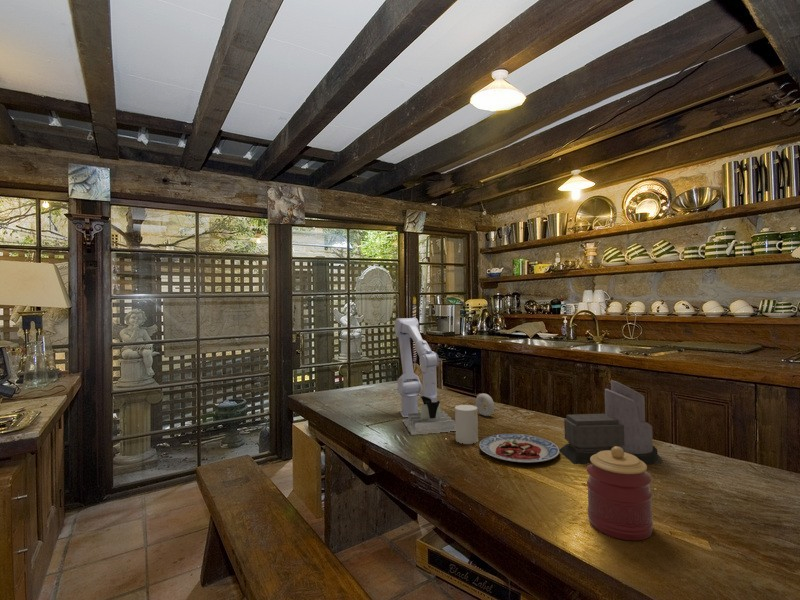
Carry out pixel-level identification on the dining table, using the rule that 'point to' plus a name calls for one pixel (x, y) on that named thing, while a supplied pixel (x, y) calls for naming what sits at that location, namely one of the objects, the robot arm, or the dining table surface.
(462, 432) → the white cylinder
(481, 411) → the donut
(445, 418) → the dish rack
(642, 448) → the grey napkin holder
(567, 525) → the dining table surface
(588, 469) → the canister
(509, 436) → the ceramic plate
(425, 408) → the grey rectangular block
